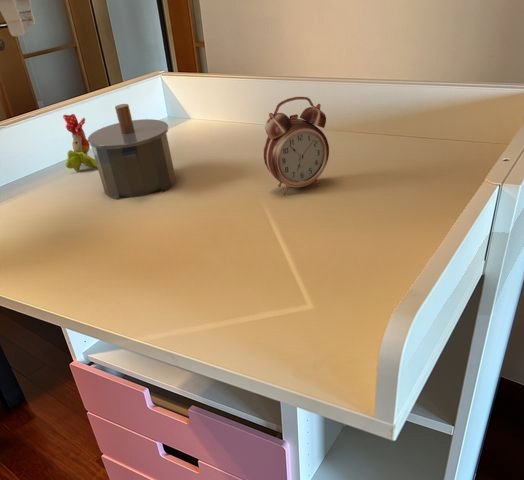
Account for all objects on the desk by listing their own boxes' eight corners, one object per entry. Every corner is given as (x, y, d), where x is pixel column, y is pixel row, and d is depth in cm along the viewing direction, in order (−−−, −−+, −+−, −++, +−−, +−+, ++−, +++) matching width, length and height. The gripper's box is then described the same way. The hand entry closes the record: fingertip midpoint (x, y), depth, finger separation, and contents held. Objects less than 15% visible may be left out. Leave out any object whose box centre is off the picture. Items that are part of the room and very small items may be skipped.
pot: (103, 211, 100) (87, 158, 94) (107, 174, 115) (94, 126, 109) (178, 198, 101) (167, 145, 95) (173, 163, 116) (163, 115, 110)
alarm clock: (276, 199, 96) (267, 107, 87) (265, 190, 100) (256, 101, 91) (333, 184, 99) (330, 93, 89) (320, 175, 102) (317, 87, 93)
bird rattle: (73, 174, 123) (65, 171, 115) (60, 121, 121) (50, 113, 112) (101, 170, 124) (96, 166, 115) (89, 116, 121) (82, 108, 112)
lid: (87, 157, 96) (76, 123, 93) (92, 133, 108) (83, 102, 104) (171, 144, 97) (164, 109, 94) (167, 121, 109) (161, 89, 105)
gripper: (-22, -87, 80) (14, 23, 89) (-62, -90, 64) (-13, 45, 73) (22, -93, 81) (54, 17, 89) (-6, -97, 65) (36, 37, 73)
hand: (24, 30), depth 81 cm, fingers open, 8 cm apart
